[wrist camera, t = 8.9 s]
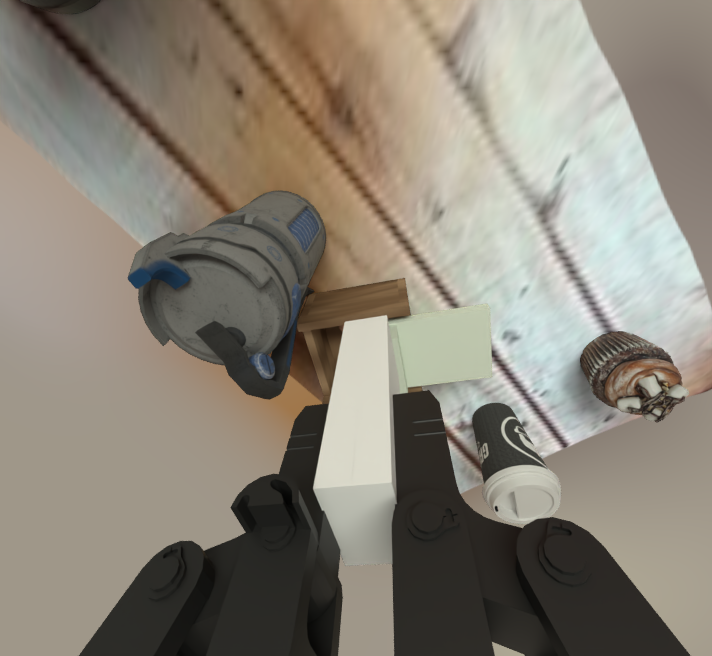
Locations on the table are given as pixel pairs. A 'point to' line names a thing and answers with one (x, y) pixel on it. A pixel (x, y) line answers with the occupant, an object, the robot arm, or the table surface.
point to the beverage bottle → (235, 288)
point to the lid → (442, 346)
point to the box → (342, 306)
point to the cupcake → (632, 375)
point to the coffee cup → (513, 468)
